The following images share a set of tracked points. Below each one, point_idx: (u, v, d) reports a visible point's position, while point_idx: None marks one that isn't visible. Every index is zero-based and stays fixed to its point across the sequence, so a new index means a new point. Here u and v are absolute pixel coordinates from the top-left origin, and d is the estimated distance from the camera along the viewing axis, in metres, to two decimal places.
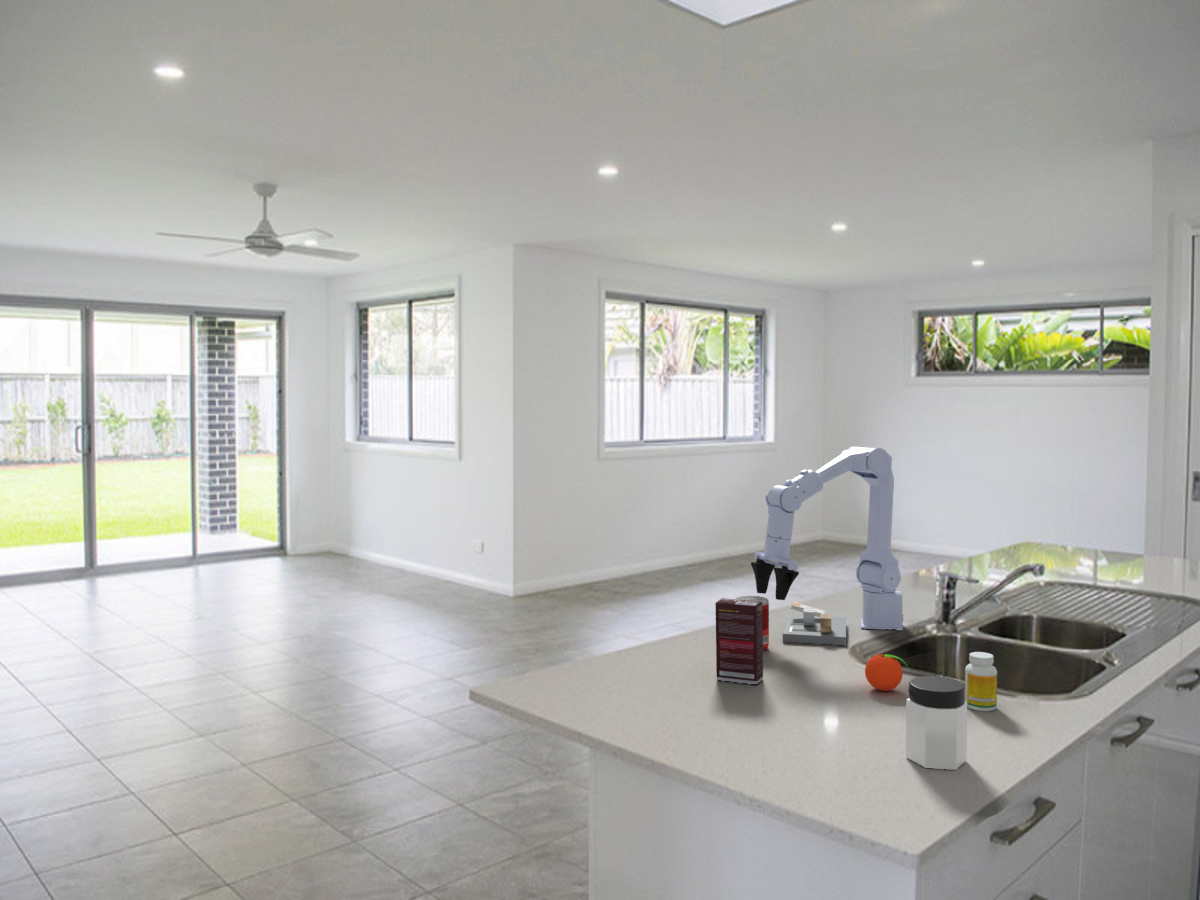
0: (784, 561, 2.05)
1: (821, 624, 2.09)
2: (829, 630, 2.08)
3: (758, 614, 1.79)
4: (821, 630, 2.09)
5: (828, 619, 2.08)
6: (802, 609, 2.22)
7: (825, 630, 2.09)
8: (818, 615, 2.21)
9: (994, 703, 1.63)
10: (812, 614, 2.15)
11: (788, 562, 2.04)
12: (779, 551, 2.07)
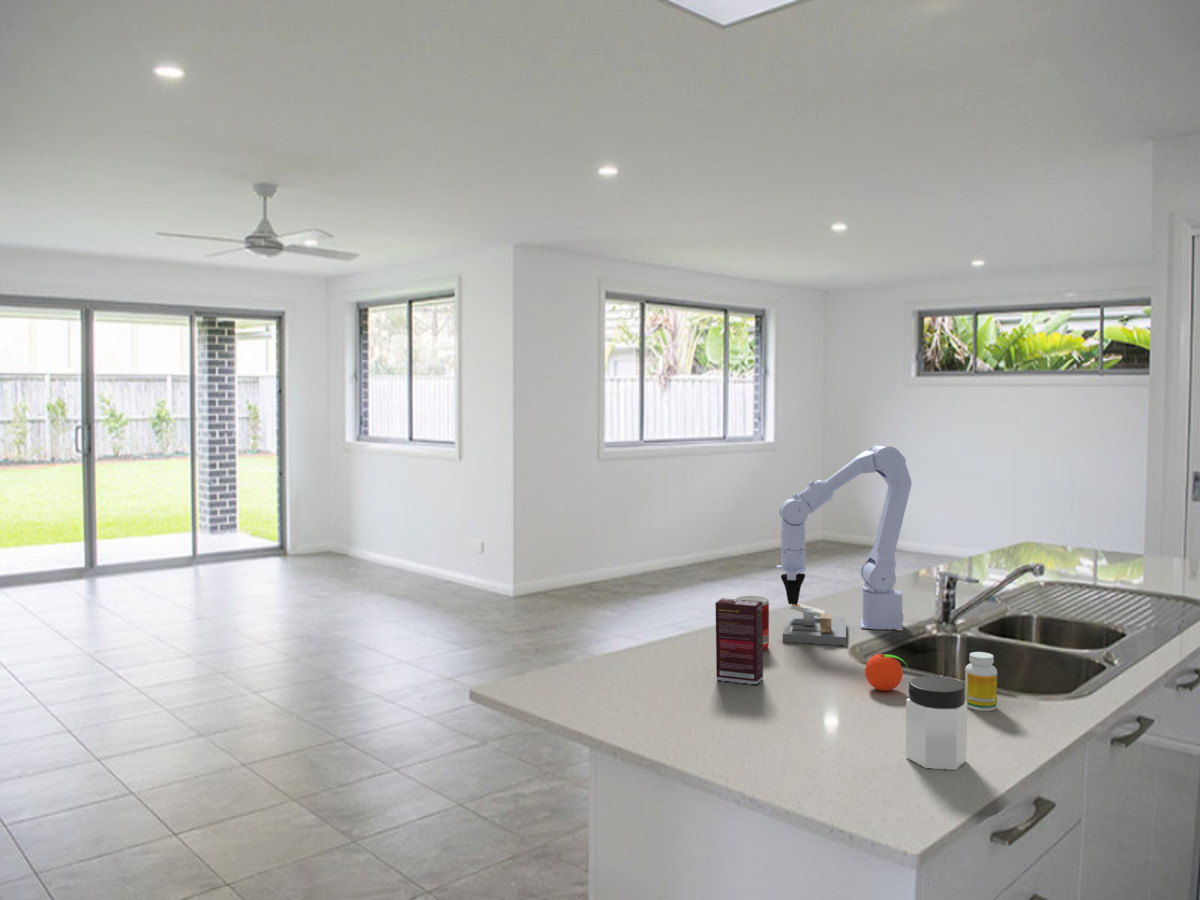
0: (786, 571, 2.19)
1: (821, 624, 2.09)
2: (829, 630, 2.08)
3: (758, 614, 1.79)
4: (821, 630, 2.09)
5: (828, 619, 2.08)
6: (802, 609, 2.22)
7: (825, 630, 2.09)
8: (818, 615, 2.21)
9: (994, 703, 1.63)
10: (812, 614, 2.15)
11: (787, 572, 2.17)
12: (787, 562, 2.21)
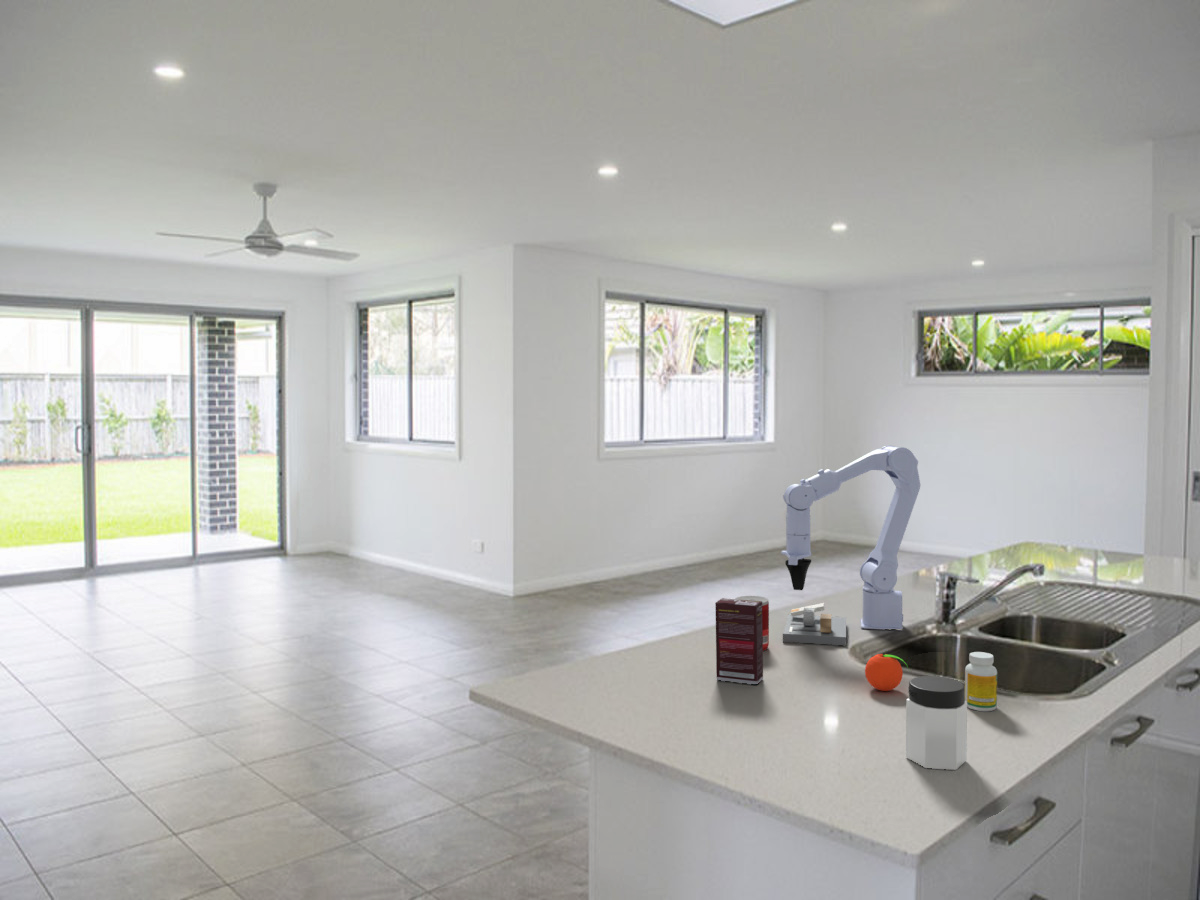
0: (788, 556, 2.17)
1: (821, 624, 2.09)
2: (829, 630, 2.08)
3: (758, 614, 1.79)
4: (821, 630, 2.09)
5: (828, 619, 2.08)
6: (802, 612, 2.22)
7: (825, 630, 2.09)
8: (818, 610, 2.21)
9: (994, 703, 1.63)
10: (812, 614, 2.15)
11: None
12: (791, 547, 2.20)
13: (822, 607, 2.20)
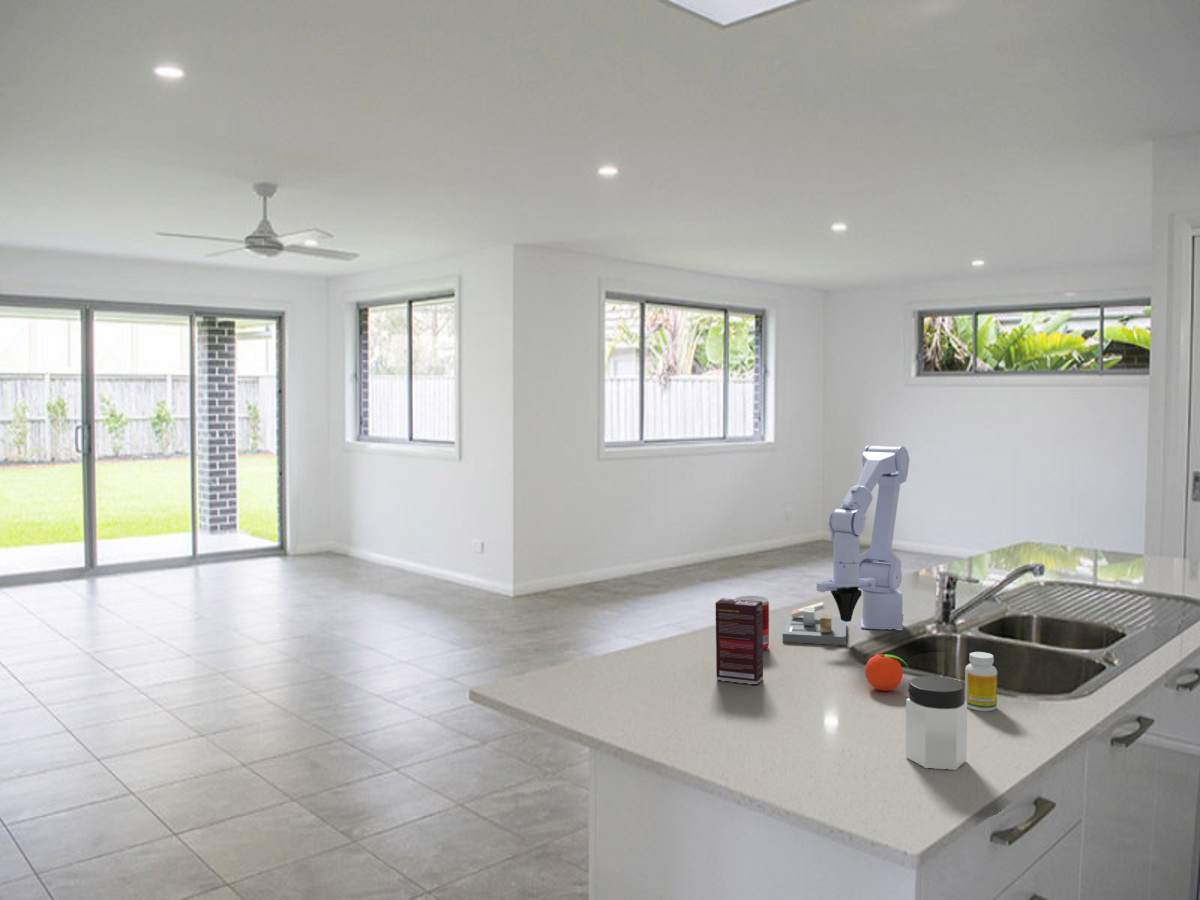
0: None
1: (821, 624, 2.09)
2: (829, 630, 2.08)
3: (758, 614, 1.79)
4: (821, 630, 2.09)
5: (828, 619, 2.08)
6: (802, 612, 2.22)
7: (825, 630, 2.09)
8: (818, 609, 2.21)
9: (994, 703, 1.63)
10: (812, 614, 2.15)
11: None
12: (833, 574, 2.09)
13: (821, 606, 2.20)
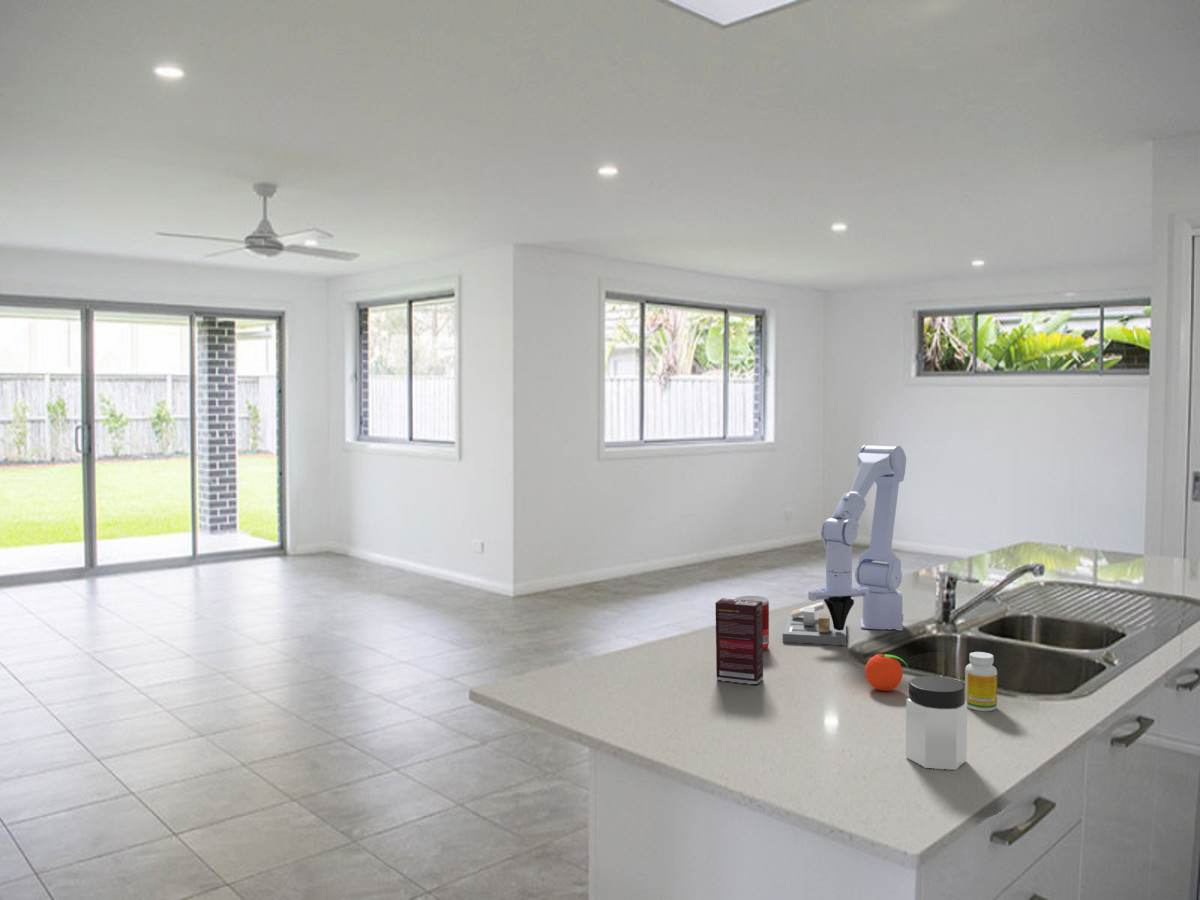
0: None
1: (819, 624, 2.09)
2: (827, 630, 2.09)
3: (758, 614, 1.79)
4: (819, 630, 2.09)
5: (826, 619, 2.09)
6: (802, 612, 2.22)
7: (823, 630, 2.09)
8: (818, 609, 2.21)
9: (994, 703, 1.63)
10: (812, 614, 2.15)
11: None
12: (826, 582, 2.10)
13: (821, 605, 2.20)
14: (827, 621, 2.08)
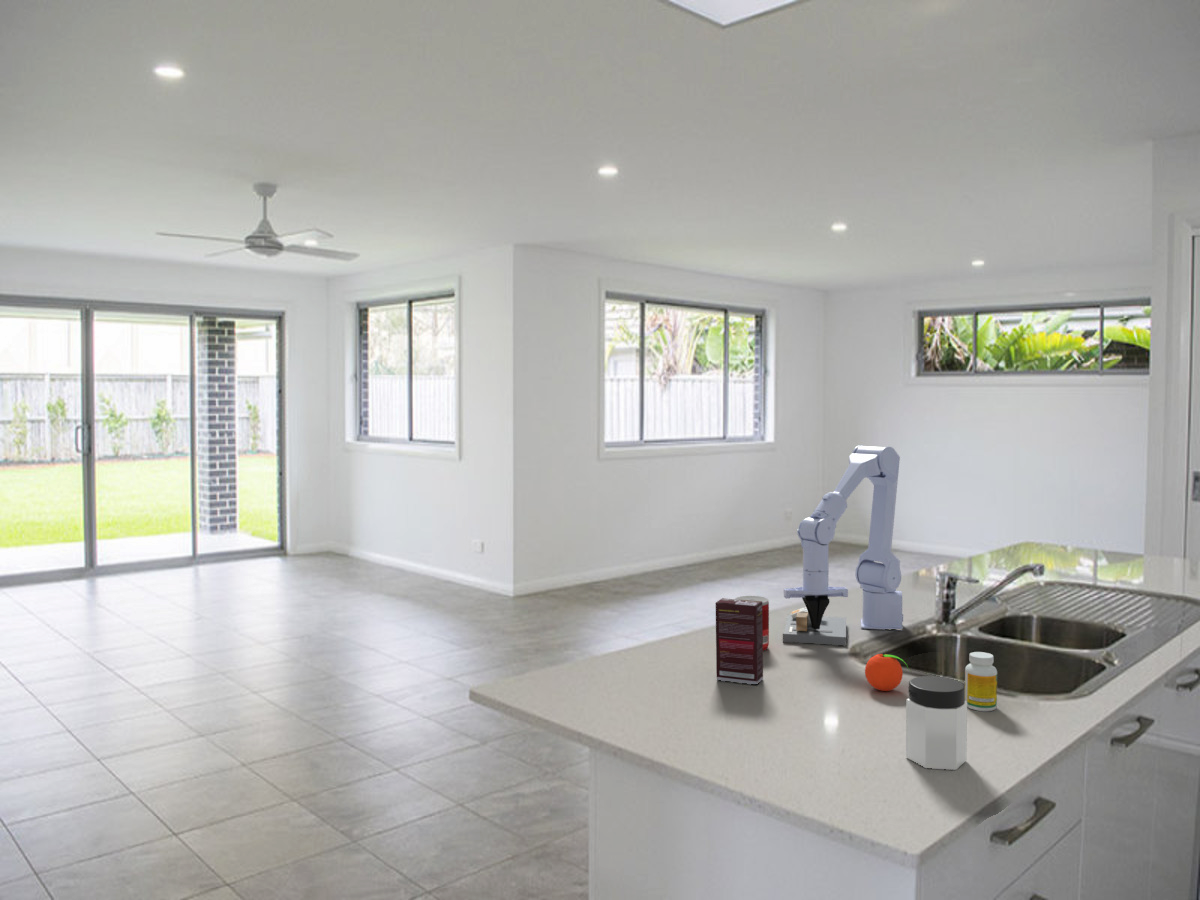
0: None
1: (797, 623, 2.10)
2: (805, 629, 2.10)
3: (758, 614, 1.79)
4: (797, 629, 2.10)
5: (804, 618, 2.10)
6: (802, 612, 2.22)
7: (801, 629, 2.10)
8: None
9: (994, 703, 1.63)
10: None
11: None
12: None
13: None
14: (805, 620, 2.10)
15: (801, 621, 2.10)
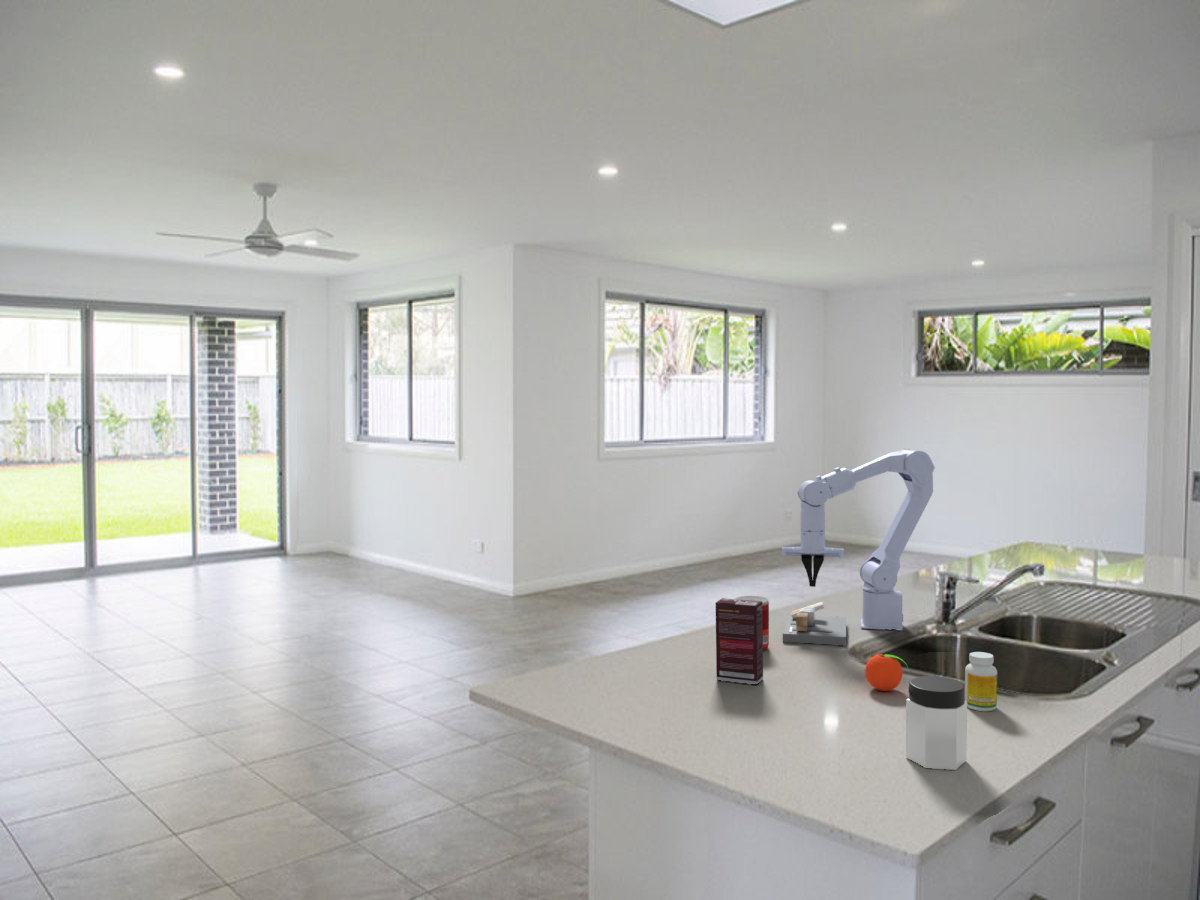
0: None
1: (797, 623, 2.10)
2: (805, 629, 2.10)
3: (758, 614, 1.79)
4: (797, 629, 2.10)
5: (804, 618, 2.10)
6: (802, 612, 2.22)
7: (801, 629, 2.10)
8: (818, 609, 2.21)
9: (994, 703, 1.63)
10: (812, 614, 2.15)
11: None
12: None
13: (821, 605, 2.20)
14: (805, 620, 2.10)
15: (801, 621, 2.10)
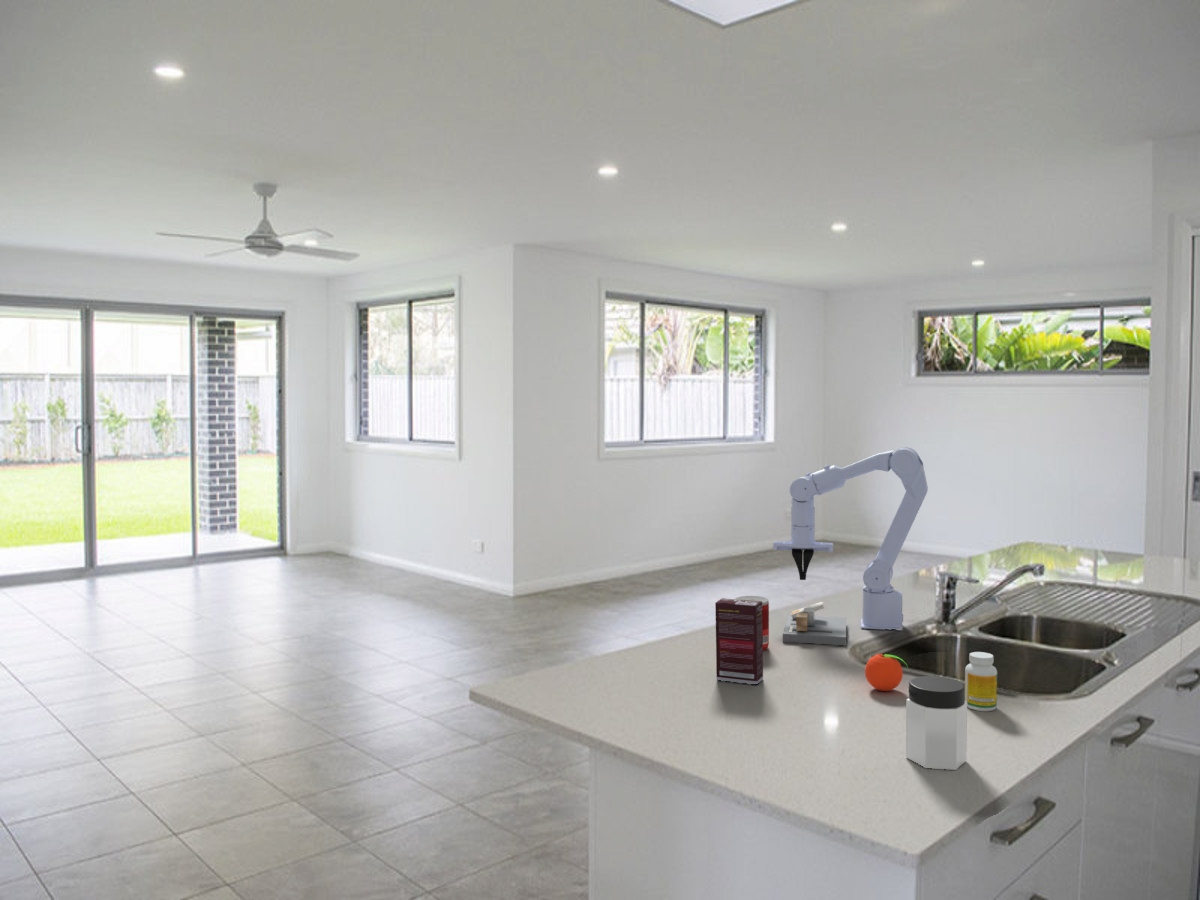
0: None
1: (797, 623, 2.10)
2: (805, 629, 2.10)
3: (758, 614, 1.79)
4: (797, 629, 2.10)
5: (804, 618, 2.10)
6: (802, 612, 2.22)
7: (801, 629, 2.10)
8: (818, 609, 2.21)
9: (994, 703, 1.63)
10: (812, 614, 2.15)
11: None
12: None
13: (821, 605, 2.20)
14: (805, 620, 2.10)
15: (801, 621, 2.10)
